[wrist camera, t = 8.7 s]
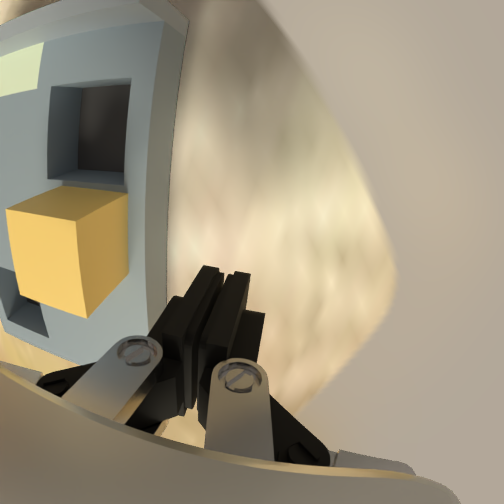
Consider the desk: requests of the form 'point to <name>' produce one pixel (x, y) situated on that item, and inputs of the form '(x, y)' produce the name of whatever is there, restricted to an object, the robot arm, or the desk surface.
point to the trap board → (91, 149)
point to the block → (70, 246)
